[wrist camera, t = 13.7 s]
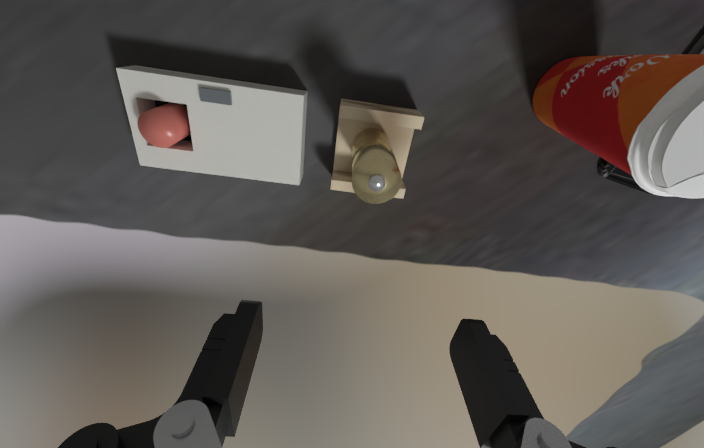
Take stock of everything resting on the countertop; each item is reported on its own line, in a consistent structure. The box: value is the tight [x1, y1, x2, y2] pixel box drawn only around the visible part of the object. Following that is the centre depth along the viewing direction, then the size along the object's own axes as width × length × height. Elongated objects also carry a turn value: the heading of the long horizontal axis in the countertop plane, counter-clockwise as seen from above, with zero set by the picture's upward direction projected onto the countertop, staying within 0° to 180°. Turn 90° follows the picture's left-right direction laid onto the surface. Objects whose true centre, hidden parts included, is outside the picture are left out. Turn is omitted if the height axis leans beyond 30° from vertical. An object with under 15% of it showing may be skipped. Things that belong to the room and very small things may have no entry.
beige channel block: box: [331, 98, 424, 199], centre depth 28 cm, size 7×8×3 cm
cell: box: [352, 128, 402, 204], centre depth 25 cm, size 4×4×8 cm
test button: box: [137, 102, 191, 148], centre depth 26 cm, size 3×3×4 cm
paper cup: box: [532, 54, 704, 198], centre depth 20 cm, size 8×8×14 cm
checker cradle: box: [116, 65, 308, 185], centre depth 27 cm, size 14×8×3 cm, turn 82°
